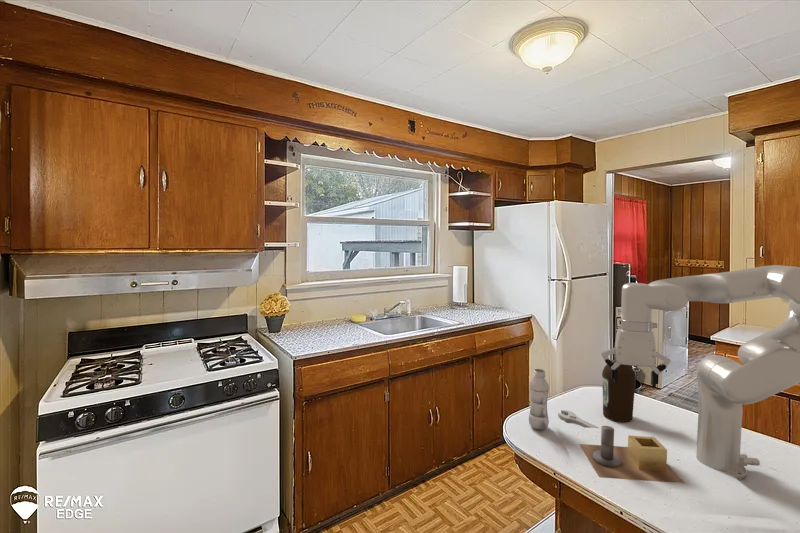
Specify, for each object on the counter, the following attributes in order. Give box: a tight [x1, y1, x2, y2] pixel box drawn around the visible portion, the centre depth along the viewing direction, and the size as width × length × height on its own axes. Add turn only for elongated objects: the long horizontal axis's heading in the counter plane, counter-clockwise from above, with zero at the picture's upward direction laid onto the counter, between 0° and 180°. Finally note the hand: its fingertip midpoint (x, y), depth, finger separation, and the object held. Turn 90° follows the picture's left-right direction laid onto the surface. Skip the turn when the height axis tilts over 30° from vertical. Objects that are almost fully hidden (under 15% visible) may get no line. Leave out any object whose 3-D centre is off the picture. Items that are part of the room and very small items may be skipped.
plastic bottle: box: [528, 368, 550, 431], centre depth 135 cm, size 6×7×20 cm
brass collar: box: [627, 435, 668, 471], centre depth 111 cm, size 7×7×6 cm
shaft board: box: [578, 425, 685, 484], centre depth 112 cm, size 21×17×11 cm
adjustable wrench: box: [557, 409, 600, 429], centre depth 135 cm, size 25×6×2 cm, turn 23°
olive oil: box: [601, 356, 637, 423], centre depth 142 cm, size 11×11×25 cm
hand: (634, 383), depth 115 cm, fingers open, 9 cm apart
